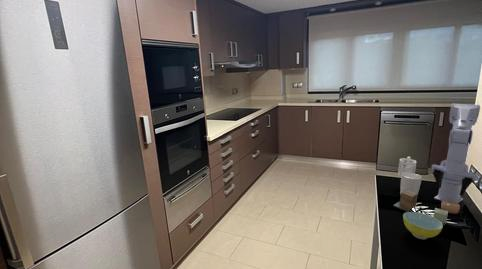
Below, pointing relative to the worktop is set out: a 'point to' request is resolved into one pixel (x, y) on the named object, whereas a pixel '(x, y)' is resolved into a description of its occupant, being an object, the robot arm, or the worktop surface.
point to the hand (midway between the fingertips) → (449, 191)
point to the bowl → (422, 225)
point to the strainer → (408, 166)
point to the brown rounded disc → (450, 206)
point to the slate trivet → (401, 207)
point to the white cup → (410, 182)
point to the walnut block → (408, 199)
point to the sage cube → (440, 215)
